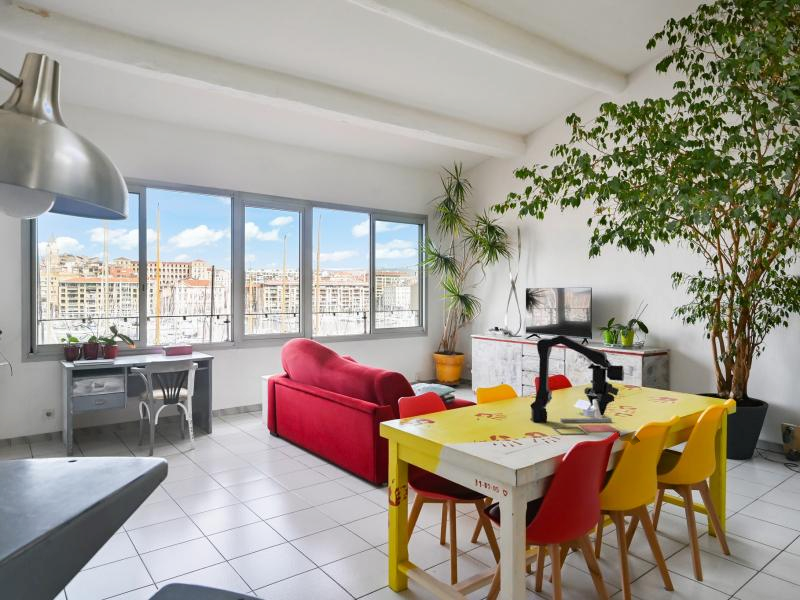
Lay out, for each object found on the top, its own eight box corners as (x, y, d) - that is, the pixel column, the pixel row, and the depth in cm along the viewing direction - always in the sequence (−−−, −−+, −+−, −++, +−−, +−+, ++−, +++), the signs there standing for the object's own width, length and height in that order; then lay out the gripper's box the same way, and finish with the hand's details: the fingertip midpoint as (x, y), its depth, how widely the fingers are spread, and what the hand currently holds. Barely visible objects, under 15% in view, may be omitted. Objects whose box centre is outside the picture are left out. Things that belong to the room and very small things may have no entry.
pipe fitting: (599, 415, 243) (600, 398, 243) (609, 419, 236) (609, 401, 236) (587, 416, 242) (587, 399, 241) (597, 420, 235) (597, 402, 235)
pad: (589, 432, 233) (589, 431, 233) (578, 425, 245) (578, 424, 245) (620, 431, 233) (620, 431, 233) (607, 425, 245) (607, 424, 245)
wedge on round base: (573, 413, 270) (594, 418, 258) (573, 400, 269) (594, 404, 258) (585, 411, 274) (606, 416, 263) (585, 398, 274) (606, 402, 263)
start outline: (560, 434, 228) (560, 433, 228) (552, 428, 239) (552, 427, 239) (588, 434, 229) (588, 433, 229) (578, 427, 240) (578, 427, 240)
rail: (562, 422, 249) (562, 419, 249) (560, 421, 251) (560, 418, 251) (611, 422, 250) (611, 419, 250) (609, 421, 253) (609, 417, 253)
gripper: (626, 382, 230) (625, 418, 230) (607, 375, 248) (606, 408, 249) (601, 382, 229) (600, 418, 229) (584, 375, 248) (583, 408, 248)
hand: (598, 413), depth 239 cm, fingers closed on pipe fitting, 7 cm apart
